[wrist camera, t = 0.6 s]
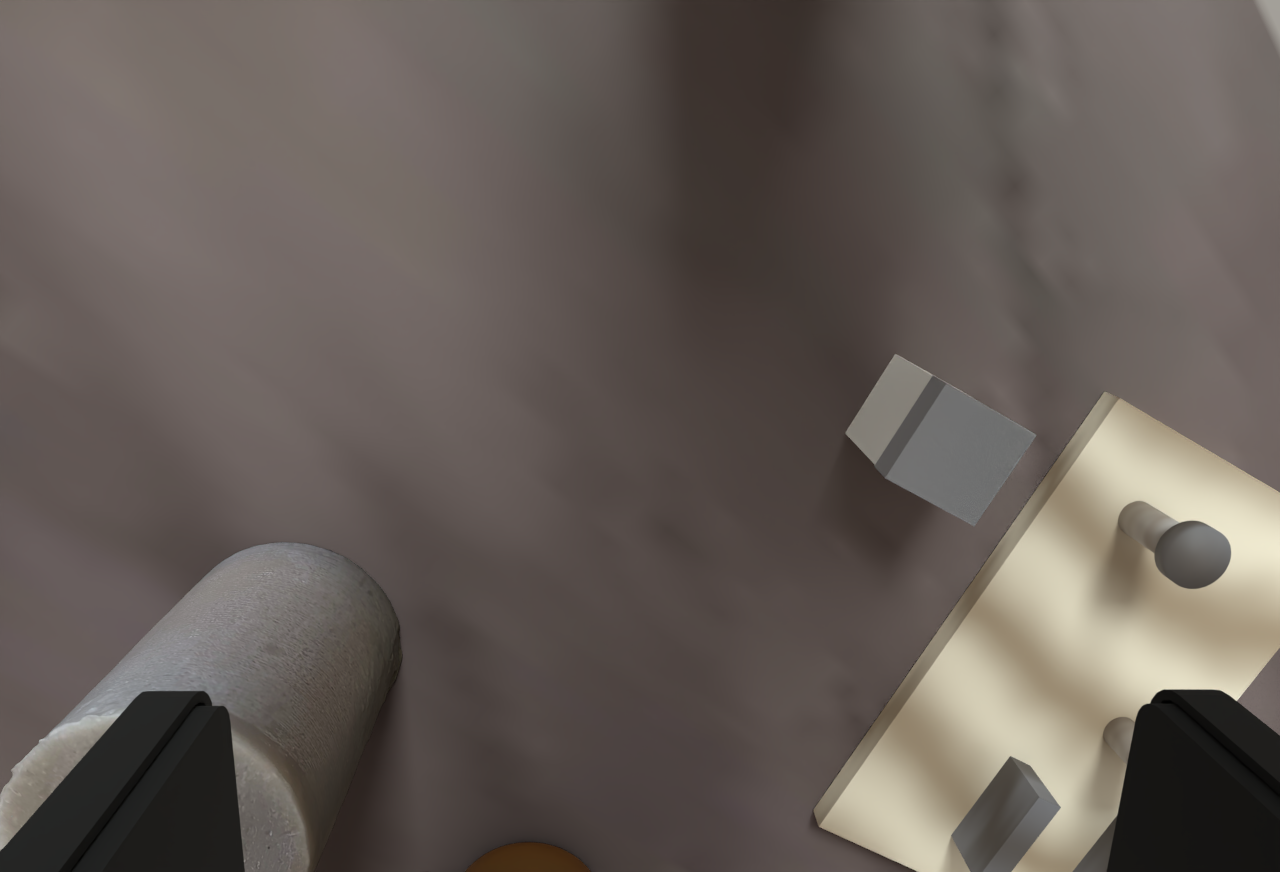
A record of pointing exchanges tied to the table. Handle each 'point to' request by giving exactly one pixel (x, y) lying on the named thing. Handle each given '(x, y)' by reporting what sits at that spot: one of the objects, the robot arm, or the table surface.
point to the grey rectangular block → (937, 440)
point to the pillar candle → (254, 693)
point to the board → (1068, 656)
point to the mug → (528, 859)
